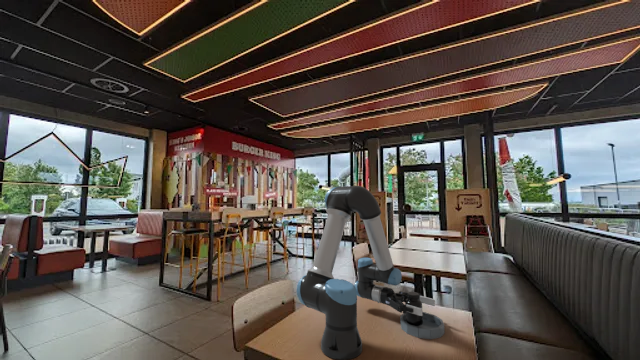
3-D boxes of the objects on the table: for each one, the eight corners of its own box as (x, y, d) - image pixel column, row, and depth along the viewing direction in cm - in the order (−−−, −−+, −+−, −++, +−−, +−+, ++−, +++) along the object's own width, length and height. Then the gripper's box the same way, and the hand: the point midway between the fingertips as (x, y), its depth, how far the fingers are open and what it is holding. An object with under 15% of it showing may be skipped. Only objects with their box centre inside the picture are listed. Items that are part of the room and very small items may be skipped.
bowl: (417, 341, 101) (417, 332, 102) (393, 322, 118) (393, 314, 118) (453, 335, 106) (453, 326, 106) (425, 317, 122) (425, 309, 123)
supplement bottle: (420, 319, 114) (419, 291, 115) (425, 327, 107) (424, 296, 108) (404, 318, 115) (403, 290, 116) (407, 326, 108) (406, 296, 109)
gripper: (396, 296, 134) (439, 307, 119) (369, 311, 116) (416, 327, 101) (395, 281, 134) (439, 290, 120) (368, 293, 116) (415, 306, 102)
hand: (428, 307), depth 110 cm, fingers open, 13 cm apart
